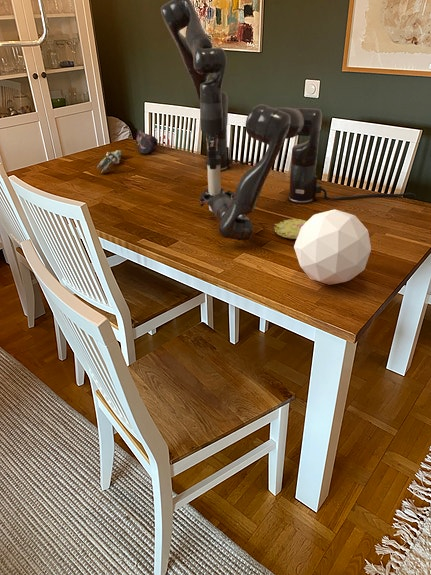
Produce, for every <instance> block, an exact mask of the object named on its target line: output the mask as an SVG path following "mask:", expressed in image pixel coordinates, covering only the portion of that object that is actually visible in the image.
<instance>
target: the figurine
mask: <svg viewBox="0 0 431 575" xmlns="http://www.w3.org/2000/svg"><path fill="white" fill-rule="evenodd" d="M122 153H123V152H122V150H115V151H111V152H110V151H107V152H106V153H105V155H106V156H104V157H103V158H102V159H101V161H100V162H99V163H98V165H97V167H96V169H97V170H100V173H101V174H104V173H105V172H106V171H107V170H108V169H109V168H110V167H111V166H112V165H119V164H120V160H121V158H122V157H123V154H122Z"/></svg>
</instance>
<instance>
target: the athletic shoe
mask: <svg viewBox="0 0 431 575" xmlns="http://www.w3.org/2000/svg"><path fill="white" fill-rule="evenodd" d="M158 141H159V140H158V139H157V138H156V137H155V136H153V135H152V134H149V133H146V132H143V131H142V130H137V132H136V137H135V145H137V150H138V152H139V153H140V154H142V155H144V154H150V153H152V152H153V151H154V150H155V149H156V146H158V145H159V146H160V145H162V143H160V142H158Z"/></svg>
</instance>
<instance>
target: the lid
mask: <svg viewBox="0 0 431 575" xmlns="http://www.w3.org/2000/svg"><path fill="white" fill-rule="evenodd" d="M205 163H206V166H207V165H210V159H209V156H207V155H206V156H205ZM220 164H221V156H218V155H217V157H216V165H220Z"/></svg>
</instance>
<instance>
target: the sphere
mask: <svg viewBox="0 0 431 575" xmlns="http://www.w3.org/2000/svg"><path fill="white" fill-rule="evenodd" d="M306 221H307V222H306V223H305V224H304V225H303V226H302V227H301V229H300V232H299V234H298V237H297V239H295V242H294V244H293V249H294V252H295V255H296V258H297V261H298V265H299V266H300V269H302V271H303V272H304V273H305V275H306V276H307V277H308V278H309V279H310V280H312V281H316V282H319V283H322V284H325V285H328V286H331V285H336V284H342V283H346V282H348V281H351V280H352V279H354V278H356V277H357V276H358V275H359V274H361V273H362V272H363V271H364V270H365V269H366V266H367V264H368V260H369V257H370V254H371V252H372V245H371V239H370V234H369V233H370V232H369V230H368V228H366V226H365V225H364V224H363V223H362V221H361V220H360V219H359V218H358V217H357V216H356V215H355V214H351V213H349V212H345V211H342V210H338V209H335V208H334V209H331V210H327V211H322V212H318V213H315V214H313V215H312V216H311V217H310V218H309V219H308V220H306Z"/></svg>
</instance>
